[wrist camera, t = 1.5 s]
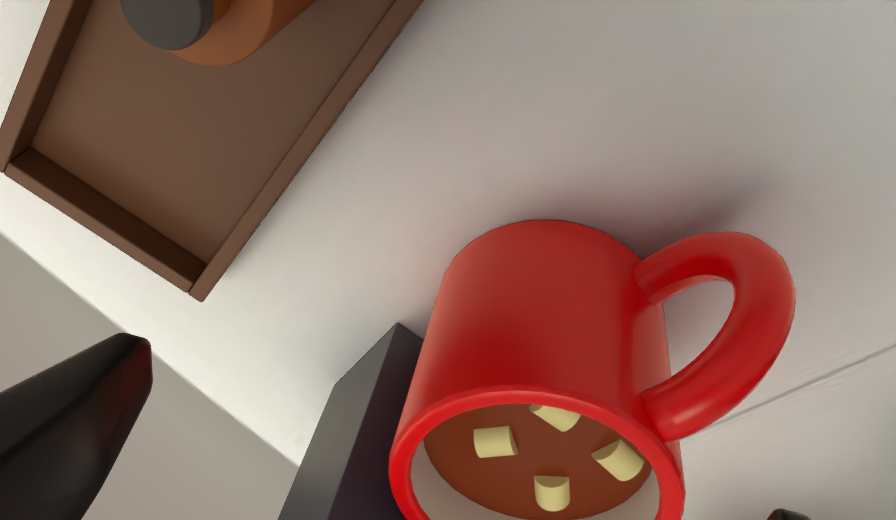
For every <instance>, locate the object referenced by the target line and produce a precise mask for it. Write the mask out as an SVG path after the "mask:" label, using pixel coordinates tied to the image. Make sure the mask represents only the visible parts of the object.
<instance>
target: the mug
mask: <svg viewBox="0 0 896 520" xmlns="http://www.w3.org/2000/svg"><path fill="white" fill-rule="evenodd" d="M708 281H726V282H729V283H731V284H732V285H733V288H734V302H733V307H732V310H731V312H730V314H729V316H728V319H727V320H726V322H725V324H724V325H723V327H722V329H721V330H720V332H719V333H718V334H717V336H716V337H715V338H714V340H713V341H712V342H711V343H710V344H709V345H708V347H707V348H706V349H705V350H704V351H703V352H702V353H701V354H700V355H699V356H698V357H697V358H696V359H695V360H694V361H692V362H691V363H690V364H689V365H687V366H686V367H685V368H684V369H682V370H681V371H679V372H678V373H677V374H675V375H674V376H672V377H671V369H670V361H669V353H668V344H667V336H666V328H665V320H664V312H663V305H662V303H663V302H665V301H666V300H668V299H669V298H671V297H672V296H674V295H676V294H677V293H679V292H681V291H683V290H685V289H687V288H690V287H692V286H695V285H697V284H700V283H704V282H708ZM795 304H796V296H795V287H794V283H793V279H792V276H791V274H790V271H789V269H788V267H787V265H786V263H785V261H784V259H783V257H782V256H781V255H780V254H779V253H778V252H777V251H776V250H775V249H774V248H772V247H771V246H769V245H768V244H766V243H765V242H763V241H761V240H760V239H758V238H756V237H754V236H751V235H749V234H744V233H740V232H715V233H705V234H700V235H695V236H691V237H688V238H685V239H682V240H679V241H677V242H674V243H672V244H670V245H668V246H666V247H664V248H662V249H660V250H658V251H656V252H655V253H653V254H651V255H649V256H648V257H646V258H645V259H643V260H641V259H640V258H639V257H638V256H637V255H636V254H635V253H634V252H632V251H631V250H630V249H629V248H628V247H627V246H625V245H624V244H623V243H621V242H620V241H618V240H616V239H614V238H613V237H611V236H609V235H607V234H606V233H604V232H601V231H599V230H596V229H593V228H590V227H587V226H584V225H582V224H577V223H571V222H565V221H559V220H530V221H524V222H518V223H513V224H508V225H506V226H503V227H500V228H497V229H495V230H492V231H489V232H487V233H486V234H484V235H482V236H481V237H479V238H477V239H476V240H474V241H472V242H471V243H470V244H468V245H467V246H466V247H465V248H464V249H463V250H462V251H461V252H460V253H459V254H458V255H457V256H456V257H455V258H454V260H453V261H452V263H451V264H450V266H449V267H448V269H447V270H446V272H445V275H444V277H443V280H442V283H441V285H440V288H439V291H438V295H437V298H436V301H435V305H434V308H433V311H432V315H431V318H430V321H429V324H428V328H427V331H426V334H425V338H424V341H423V344H422V348H421V351H420V354H419V358H418V361H417V364H416V368H415V371H414V374H413V378H412V381H411V384H410V388H409V391H408V394H407V398H406V401H405V404H404V408H403V411H402V414H401V418H400V421H399V424H398V428H397V431H396V434H395V438H394V441H393V444H392V448H391V451H390V456H389V469H388V475H389V481H390V485H391V490H392V494H393V496H394V498H395V501H396V503H397V505H398V507H399V509H400V511H401V513H402V514H403V515H404V516H405V518H406V519H407V520H681V518H682V515H683V511H684V502H685V494H686V492H685V484H684V475H683V467H682V459H681V451H680V443H679V439H681V438H684V437H686V436H689V435H691V434H694V433H696V432H698V431H700V430H701V429H703V428H705V427H707V426H709V425H711V424H712V423H714V422H715V421H717V420H718V419H720V418H721V417H723V416H724V415H726V414H727V413H728V412H729V411H731V410H732V409H733V408H734V407H736V406H737V405H738V404H739V403H740V402H741V401H742V400H743V399H745V398H746V397H747V396H748V395H749V394H750V393H751V392H752V391H753V390H754V388H755V387H756V386H757V385H758V384H759V383H760V382H761V380H762V379H763V378H764V376H765V375H766V374H767V372H768V371H769V369H770V368H771V367H772V365H773V364H774V362H775V360H776V358H777V357H778V355H779V353H780V351H781V349H782V347H783V345H784V343H785V341H786V338H787V336H788V334H789V331H790V328H791V325H792V321H793V318H794V313H795Z"/></svg>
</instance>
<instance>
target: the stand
mask: <svg viewBox="0 0 896 520" xmlns="http://www.w3.org/2000/svg"><path fill="white" fill-rule="evenodd" d="M422 344H423V340H421V339H420V338H418V337H417V336H415V335H414V334H413V333H411V332H410V331H408V330H407V329H405V328H404V327H402V326H401V325H400V324H398V323H397V324H396V325H395V326H394V327H393V328H392V329H391V330H390V331H389V332H388V333H387V334H386V335H385V336H384V337H383V338H382V339H381V340H380V341H379V342H378V343H377V344H376V345H375V346H374V347H373V348H372V349H371V350H370V351H369V352H368V353H367V354H366V355H365V356H364V357H363V358H362V359H361V360H360V361H359V362H358V363H357V364H356V365H355V366H354V367H353V368H352V369H351V370H350V371H349V372H348V373H347V374H346V375H345V376H344V377H343V378H342V379H341V380H340V381H339V382H338V383H337V384H335V385H334V387H333V389H332V392H331V394H330V397H329V399H328V401H327V404H326V406H325V408H324V411H323V413H322V416H321V418H320V420H319V423H318V425H317V427H316V430H315V432H314V435H313V437H312V439H311V442H310V444H309V446H308V449H307V451H306V453H305V456H304V458H303V461H302V463H301V465H300V468H299V470H298V472H297V475H296V477H295V480H294V482H293V484H292V487H291V489H290V492H289V494H288V496H287V499H286V501H285V503H284V506H283V508H282V510H281V513H280V515H279V518H278V520H407V519H406V518H405V516H404V515H403V514H402V513H401V511H400V509H399V507H398V505H397V503H396V501H395V498H394V496H393V494H392V490H391V485H390V481H389V475H388V469H389V456H390V451H391V448H392V444H393V441H394V438H395V434H396V431H397V428H398V424H399V421H400V418H401V414H402V411H403V408H404V404H405V401H406V398H407V394H408V391H409V388H410V384H411V381H412V378H413V374H414V371H415V368H416V364H417V361H418V358H419V354H420V351H421V348H422Z"/></svg>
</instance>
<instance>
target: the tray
mask: <svg viewBox="0 0 896 520" xmlns="http://www.w3.org/2000/svg"><path fill="white" fill-rule="evenodd" d="M423 1H424V0H316V1H315V2H314V3H313V4H312V5H310V6H309V7H308V8H307V9H306V10H305V11H303V12H302V13H301V14H300V15H299V16H298V17H296V18H295V19H294V20H293V21H292V22H290V23H289V24H288V25H287V26H286V27H285V28H283V29H282V30H281V31H280V32H279V33H277V34H276V35H275V36H274V37H273V38H272V39H270V40H269V41H268V42H267V43H266V44H264V45H263V46H262V47H261V48H260V49H259V50H257V51H256V52H255V53H254V54H252V55H251V56H250V57H248V58H247V59H245V60H243V61H241V62H239V63H236V64H233V65H229V66H222V67H210V66H202V65H198V64H194V63H190V62H188V61H185V60H183V59H181V58H179V57H177V56H175V55H173V54H171V53H170V52H168V51H167V50H165V49H161V48H158V47H155V46H153V45H151V44H149V43H148V42H146V41H145V40H143V39H142V38H141V37H140V36H139V35H138V34H137V33H136V32H135V31H134V30H133V29H132V27H131V26H130V25H129V23H128V21H127V20H126V18H125V16H124V13H123V11H122V8H121V4H120V0H50V3H49V5H48V8H47V10H46V13H45V16H44V18H43V21H42V23H41V26H40V28H39V31H38V33H37V36H36V38H35V41H34V44H33V46H32V49H31V51H30V54H29V56H28V59H27V61H26V64H25V67H24V69H23V72H22V74H21V77H20V79H19V82H18V84H17V87H16V89H15V92H14V95H13V97H12V100H11V102H10V105H9V107H8V110H7V112H6V115H5V118H4V120H3V123H2V125H1V128H0V172H1V173H3V172H4V174H5V175H6V176H7V177H9V178H10V179H12V180H13V181H15V182H17V183H18V184H20V185H21V186H23V187H24V188H26V189H27V190H29V191H30V192H32V193H33V194H35V195H37V196H38V197H40V198H41V199H43V200H44V201H46V202H47V203H49V204H50V205H52V206H53V207H55V208H57V209H58V210H60V211H61V212H63V213H64V214H66V215H67V216H69V217H70V218H72V219H73V220H75V221H76V222H78V223H80V224H81V225H83V226H84V227H86V228H87V229H89V230H90V231H92V232H93V233H95V234H96V235H98V236H100V237H101V238H103V239H104V240H106V241H107V242H109V243H110V244H112V245H113V246H115V247H116V248H118V249H120V250H121V251H123V252H124V253H126V254H127V255H129V256H130V257H132V258H133V259H135V260H136V261H138V262H140V263H141V264H143V265H144V266H146V267H147V268H149V269H150V270H152V271H153V272H155V273H156V274H158V275H159V276H161V277H163V278H164V279H166V280H167V281H169V282H170V283H172V284H173V285H175V286H176V287H178V288H179V289H181V290H183V291H184V292H186V293H187V292H189V293H188V294H189V295H190V296H192V297H193V298H195V299H196V300H198V301H199V302H203V301H204V300H205V298H206V297H207V296H208V294H209V293H210V292H211V290H212V289H213V288H214V286H215V285H216V283H217V282H218V281H219V279H220V278H221V277H222V275H223V274H224V273H225V271H226V270H227V268H228V267H229V266H230V264H231V263H232V262H233V260H234V259H235V258H236V256H237V255H238V253H239V252H240V251H241V249H242V248H243V247H244V245H245V244H246V242H247V241H248V240H249V238H250V237H251V236H252V234H253V233H254V232H255V230H256V229H257V227H258V226H259V225H260V223H261V222H262V221H263V219H264V218H265V217H266V215H267V214H268V212H269V211H270V210H271V208H272V207H273V206H274V204H275V203H276V202H277V200H278V199H279V197H280V196H281V195H282V193H283V192H284V191H285V189H286V188H287V186H288V185H289V184H290V182H291V181H292V180H293V178H294V177H295V176H296V174H297V173H298V171H299V170H300V169H301V167H302V166H303V165H304V163H305V162H306V161H307V159H308V158H309V156H310V155H311V154H312V152H313V151H314V150H315V148H316V147H317V146H318V144H319V143H320V141H321V140H322V139H323V137H324V136H325V135H326V133H327V132H328V130H329V129H330V128H331V126H332V125H333V124H334V122H335V121H336V120H337V118H338V117H339V115H340V114H341V113H342V111H343V110H344V109H345V107H346V106H347V105H348V103H349V102H350V100H351V99H352V98H353V96H354V95H355V94H356V92H357V91H358V90H359V88H360V87H361V85H362V84H363V83H364V81H365V80H366V79H367V77H368V76H369V74H370V73H371V72H372V70H373V69H374V68H375V66H376V65H377V64H378V62H379V61H380V59H381V58H382V57H383V55H384V54H385V53H386V51H387V50H388V49H389V47H390V46H391V44H392V43H393V42H394V40H395V39H396V38H397V36H398V35H399V34H400V32H401V31H402V29H403V28H404V27H405V25H406V24H407V23H408V21H409V20H410V18H411V17H412V16H413V14H414V13H415V12H416V10H417V9H418V8H419V6H420V5H421V3H422V2H423Z"/></svg>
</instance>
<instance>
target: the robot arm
mask: <svg viewBox="0 0 896 520" xmlns="http://www.w3.org/2000/svg"><path fill="white" fill-rule="evenodd" d="M152 383H153V373H152V355H151V345H150V342H149V341H148V340H147V339H145V338H142V337H138V336H135V335H131V334H127V333H118V334H115V335H113V336H111V337H109V338H107V339H105V340H103V341H101V342H99V343H97V344H95V345H93V346H91V347H89V348H87V349H85V350H83V351H81V352H79V353H77V354H76V355H73V356H72V357H69V358H67V359H65V360H63V361H62V362H60V363H58V364H56V365H54V366H52V367H50V368H48V369H46V370H44V371H42V372H40V373H38V374H36V375H34V376H32V377H30V378H28V379H26V380H24V381H22V382H20V383H18V384H16V385H14V386H12V387H10V388H8V389H6V390H4V391H2V392H0V520H81V519H82V517H83V516H84V514H85V513H86V511H87V510H88V508H89V506H90V505H91V504H92V502H93V500H94V499H95V497H96V496H97V494H98V492H99V491H100V489H101V487H102V486H103V484H104V482H105V480H106V478H107V476H108V474H109V472H110V471H111V469H112V467H113V465H114V463H115V461H116V459H117V457H118V455H119V453H120V451H121V449H122V447H123V445H124V443H125V441H126V439H127V437H128V435H129V434H130V431H131V429H132V428H133V425H134V424H135V422H136V420H137V418H138V416H139V414H140V412H141V410H142V408H143V406H144V404H145V402H146V400H147V398H148V396H149V394H150V391H151V388H152ZM767 520H811V519H810V518H809V517H808V516H806V515H804V514H800V513H797V512H793V511H789V510H785V509H777V510H775V511H773V512H772V513H771V515H770V516H769V517H768V519H767Z"/></svg>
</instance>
